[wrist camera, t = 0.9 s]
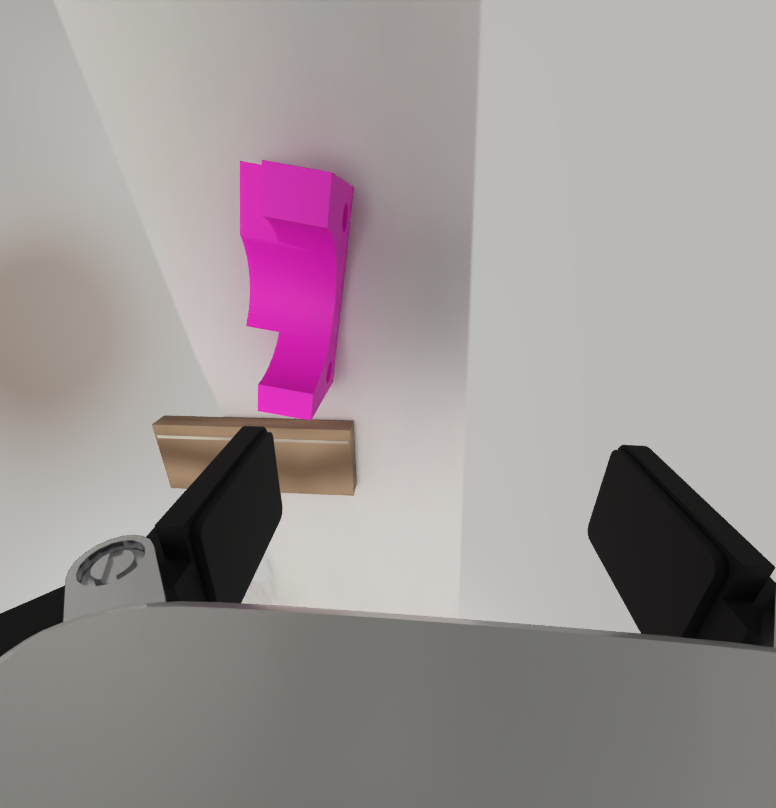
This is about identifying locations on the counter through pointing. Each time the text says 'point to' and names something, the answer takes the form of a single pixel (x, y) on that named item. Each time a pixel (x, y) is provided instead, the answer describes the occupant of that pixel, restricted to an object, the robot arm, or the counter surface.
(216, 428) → the plank
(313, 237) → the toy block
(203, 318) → the counter surface
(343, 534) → the counter surface
